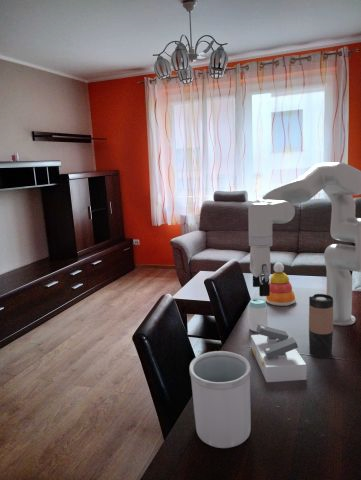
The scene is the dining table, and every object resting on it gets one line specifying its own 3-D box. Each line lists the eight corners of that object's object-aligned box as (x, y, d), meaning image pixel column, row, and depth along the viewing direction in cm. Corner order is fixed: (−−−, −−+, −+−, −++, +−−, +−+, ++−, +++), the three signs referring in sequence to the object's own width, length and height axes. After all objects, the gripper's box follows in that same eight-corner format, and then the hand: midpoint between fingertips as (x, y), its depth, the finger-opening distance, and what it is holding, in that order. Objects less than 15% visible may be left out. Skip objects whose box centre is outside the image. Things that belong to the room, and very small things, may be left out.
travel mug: (334, 359, 124) (335, 301, 120) (310, 358, 126) (310, 301, 122) (330, 348, 131) (331, 293, 128) (307, 347, 133) (307, 293, 129)
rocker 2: (264, 353, 119) (262, 348, 119) (294, 342, 119) (292, 336, 118) (267, 359, 116) (265, 353, 115) (298, 347, 115) (295, 341, 115)
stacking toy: (299, 299, 179) (299, 259, 176) (291, 309, 168) (291, 267, 164) (270, 295, 187) (270, 257, 183) (260, 305, 175) (260, 264, 172)
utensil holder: (213, 460, 85) (210, 390, 81) (182, 422, 98) (178, 361, 94) (264, 435, 91) (263, 370, 88) (229, 403, 104) (227, 345, 101)
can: (247, 332, 148) (247, 303, 145) (251, 324, 154) (250, 297, 152) (265, 334, 145) (265, 304, 143) (268, 326, 151) (268, 298, 149)
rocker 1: (256, 329, 130) (258, 324, 129) (283, 336, 130) (285, 331, 130) (258, 334, 126) (260, 328, 126) (286, 341, 127) (288, 335, 126)
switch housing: (250, 348, 135) (250, 331, 134) (284, 345, 135) (284, 329, 134) (265, 382, 113) (265, 363, 112) (306, 379, 113) (306, 360, 112)
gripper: (243, 236, 130) (244, 284, 133) (254, 246, 113) (255, 300, 116) (265, 235, 130) (265, 283, 133) (279, 245, 113) (279, 299, 116)
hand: (260, 291), depth 125 cm, fingers open, 9 cm apart
